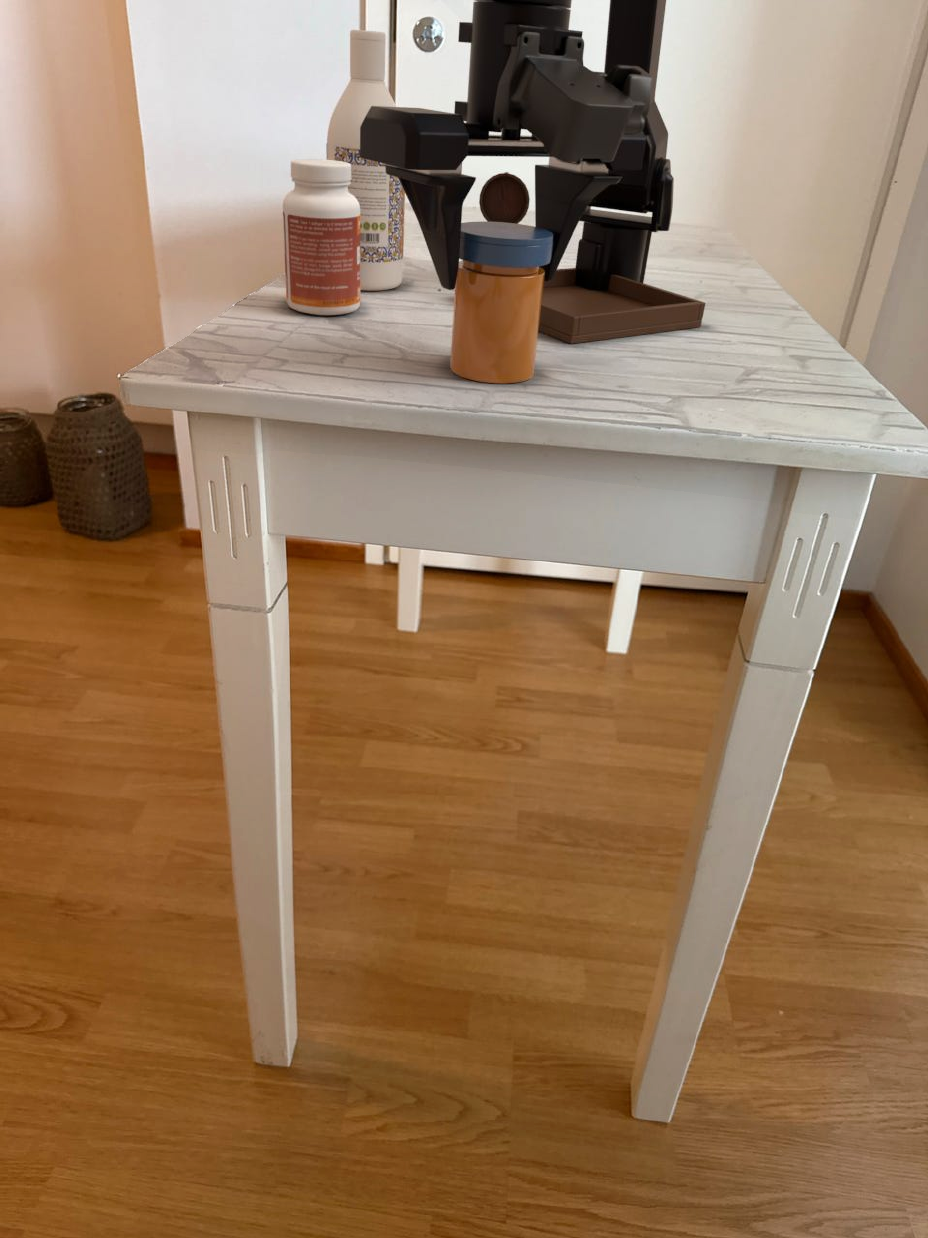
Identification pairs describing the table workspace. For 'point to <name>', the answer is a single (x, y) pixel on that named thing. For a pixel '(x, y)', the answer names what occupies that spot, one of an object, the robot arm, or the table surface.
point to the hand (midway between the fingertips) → (498, 284)
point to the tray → (612, 309)
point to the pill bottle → (322, 239)
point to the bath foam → (369, 165)
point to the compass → (504, 199)
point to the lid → (505, 244)
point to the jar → (496, 322)
